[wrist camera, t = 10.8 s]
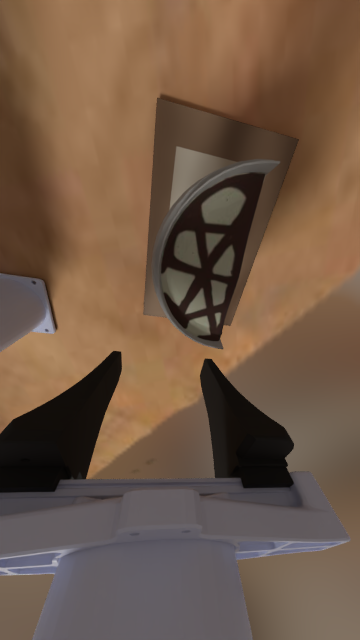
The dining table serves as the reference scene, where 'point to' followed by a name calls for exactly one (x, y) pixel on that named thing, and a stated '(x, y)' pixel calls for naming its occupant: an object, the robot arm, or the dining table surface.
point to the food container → (206, 248)
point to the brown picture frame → (202, 159)
